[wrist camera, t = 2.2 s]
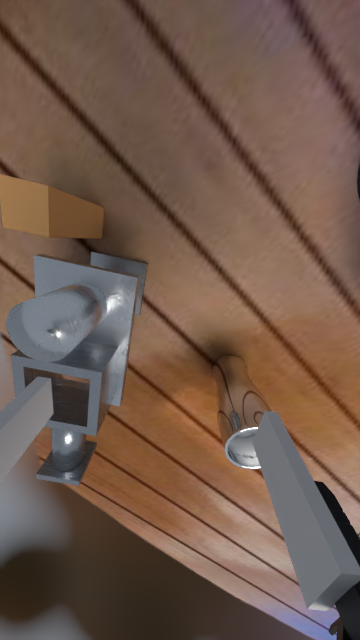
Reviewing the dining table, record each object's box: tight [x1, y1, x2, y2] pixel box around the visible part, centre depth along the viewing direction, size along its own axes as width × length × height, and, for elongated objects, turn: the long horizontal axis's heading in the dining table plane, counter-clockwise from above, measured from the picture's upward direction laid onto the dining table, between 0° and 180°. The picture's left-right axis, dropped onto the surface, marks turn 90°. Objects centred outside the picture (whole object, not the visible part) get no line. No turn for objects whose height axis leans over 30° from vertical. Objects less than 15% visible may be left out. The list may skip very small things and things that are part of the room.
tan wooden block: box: [0, 174, 104, 239], centre depth 23 cm, size 4×4×12 cm
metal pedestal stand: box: [6, 252, 148, 406], centre depth 25 cm, size 16×10×18 cm, turn 168°
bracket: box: [11, 340, 119, 486], centre depth 23 cm, size 17×8×5 cm, turn 168°
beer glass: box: [212, 355, 271, 469], centre depth 29 cm, size 7×7×15 cm
